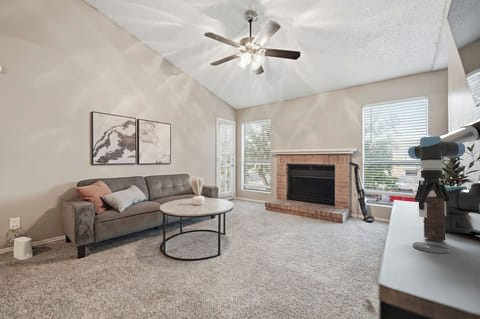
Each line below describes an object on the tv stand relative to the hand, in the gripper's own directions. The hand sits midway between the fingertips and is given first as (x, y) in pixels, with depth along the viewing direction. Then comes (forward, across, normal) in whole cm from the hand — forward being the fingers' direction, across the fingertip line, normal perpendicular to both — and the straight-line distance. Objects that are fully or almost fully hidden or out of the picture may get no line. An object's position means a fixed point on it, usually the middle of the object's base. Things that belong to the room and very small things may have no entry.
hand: (432, 216), depth 100 cm
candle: (+11, -1, 0) cm, 11 cm away
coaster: (+11, +13, +6) cm, 18 cm away
